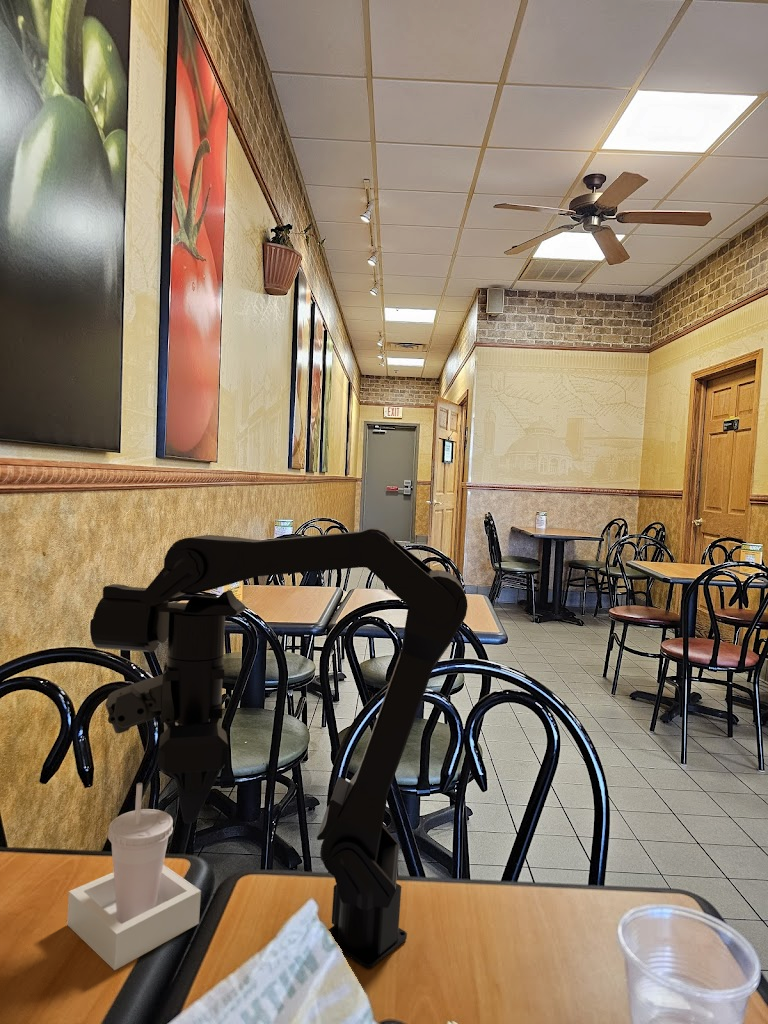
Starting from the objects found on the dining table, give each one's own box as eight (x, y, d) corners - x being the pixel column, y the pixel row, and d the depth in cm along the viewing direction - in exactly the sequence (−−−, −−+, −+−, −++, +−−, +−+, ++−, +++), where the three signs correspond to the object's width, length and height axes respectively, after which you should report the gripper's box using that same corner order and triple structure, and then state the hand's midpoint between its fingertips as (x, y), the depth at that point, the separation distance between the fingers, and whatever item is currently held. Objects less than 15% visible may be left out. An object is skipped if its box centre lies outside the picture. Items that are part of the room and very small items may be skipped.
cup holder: (198, 923, 68) (200, 890, 68) (114, 970, 61) (116, 933, 61) (149, 885, 74) (151, 855, 74) (67, 924, 67) (68, 891, 67)
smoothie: (89, 919, 67) (96, 784, 66) (138, 888, 72) (146, 764, 72) (132, 942, 64) (141, 802, 63) (181, 908, 69) (189, 779, 69)
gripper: (122, 636, 75) (116, 770, 75) (101, 682, 57) (94, 857, 57) (221, 635, 78) (215, 763, 79) (231, 678, 60) (223, 844, 61)
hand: (189, 801), depth 69 cm, fingers open, 9 cm apart
